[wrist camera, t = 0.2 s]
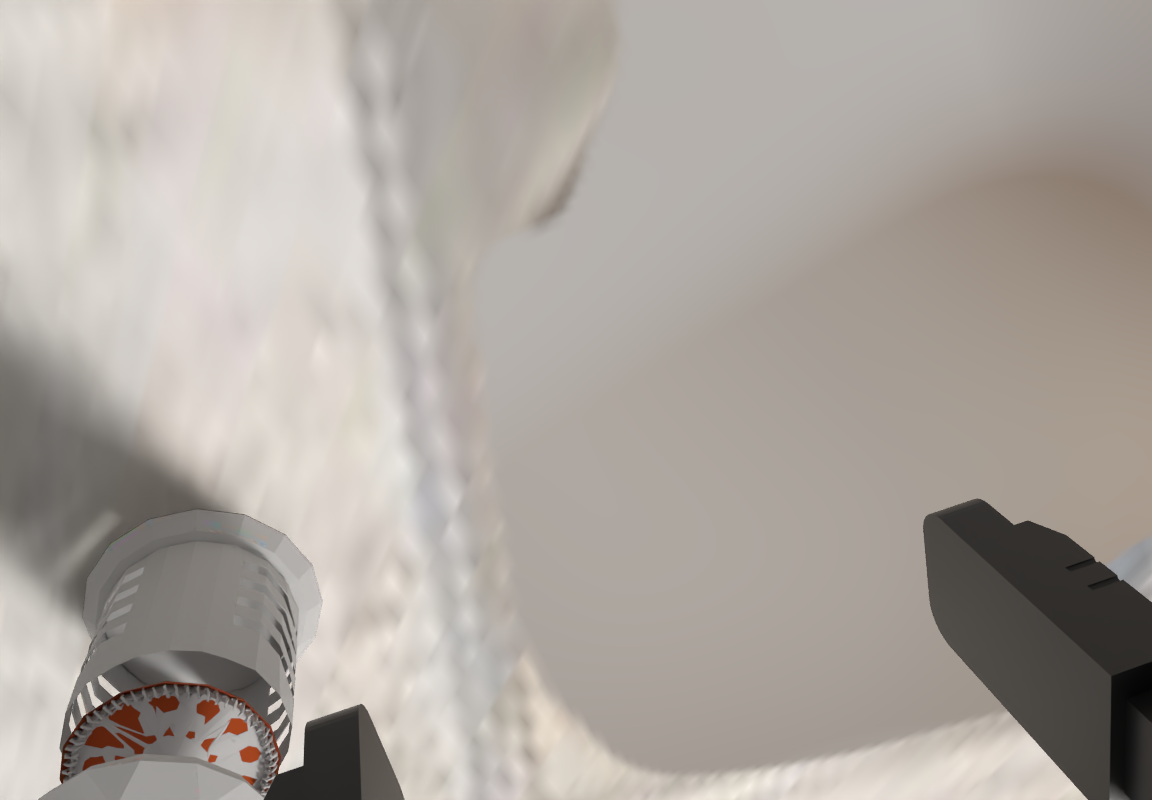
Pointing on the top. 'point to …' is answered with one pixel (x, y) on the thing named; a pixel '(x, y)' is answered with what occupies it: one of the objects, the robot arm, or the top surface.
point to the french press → (189, 661)
